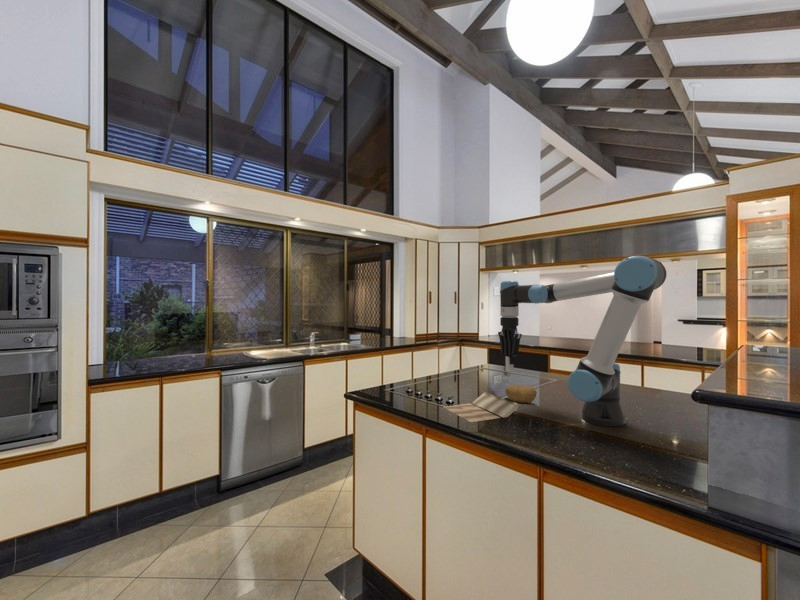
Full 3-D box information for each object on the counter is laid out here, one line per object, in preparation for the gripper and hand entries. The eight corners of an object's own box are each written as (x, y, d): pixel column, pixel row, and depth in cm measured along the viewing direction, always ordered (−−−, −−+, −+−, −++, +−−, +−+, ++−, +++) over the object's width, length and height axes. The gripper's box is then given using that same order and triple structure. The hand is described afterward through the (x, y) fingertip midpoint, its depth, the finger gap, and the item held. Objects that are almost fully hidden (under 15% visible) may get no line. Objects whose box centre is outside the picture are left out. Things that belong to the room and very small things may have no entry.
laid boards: (501, 420, 144) (501, 417, 144) (470, 425, 139) (470, 422, 139) (469, 406, 165) (469, 403, 165) (442, 409, 160) (442, 406, 160)
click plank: (518, 407, 148) (516, 404, 147) (504, 419, 145) (503, 417, 145) (485, 394, 168) (484, 391, 168) (473, 405, 165) (471, 402, 165)
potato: (510, 398, 178) (510, 381, 178) (539, 403, 169) (539, 386, 169) (501, 402, 170) (501, 385, 170) (532, 408, 161) (532, 390, 161)
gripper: (492, 316, 164) (492, 369, 164) (512, 317, 152) (512, 375, 152) (506, 316, 167) (506, 368, 167) (527, 317, 155) (527, 373, 155)
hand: (509, 371), depth 160 cm, fingers closed
